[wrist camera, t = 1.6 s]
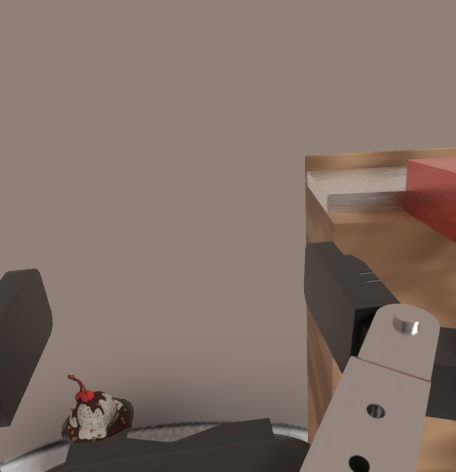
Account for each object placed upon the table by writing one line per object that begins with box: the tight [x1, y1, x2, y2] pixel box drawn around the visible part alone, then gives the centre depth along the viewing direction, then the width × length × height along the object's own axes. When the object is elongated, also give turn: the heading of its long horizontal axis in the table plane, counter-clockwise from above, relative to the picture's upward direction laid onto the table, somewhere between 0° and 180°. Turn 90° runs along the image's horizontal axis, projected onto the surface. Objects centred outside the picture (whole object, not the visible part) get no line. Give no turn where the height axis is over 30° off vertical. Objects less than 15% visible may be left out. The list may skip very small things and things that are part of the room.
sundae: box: [62, 375, 134, 444], centre depth 39 cm, size 7×7×15 cm
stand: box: [305, 147, 456, 472], centre depth 28 cm, size 12×13×34 cm
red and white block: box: [307, 157, 456, 243], centre depth 18 cm, size 10×22×2 cm, turn 175°
